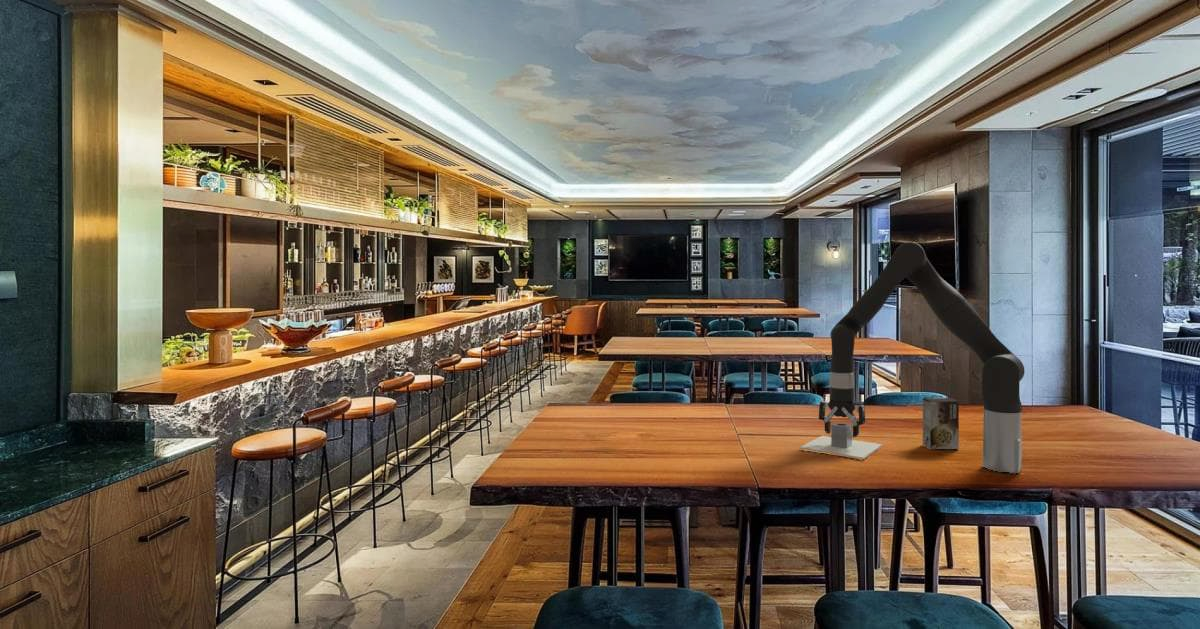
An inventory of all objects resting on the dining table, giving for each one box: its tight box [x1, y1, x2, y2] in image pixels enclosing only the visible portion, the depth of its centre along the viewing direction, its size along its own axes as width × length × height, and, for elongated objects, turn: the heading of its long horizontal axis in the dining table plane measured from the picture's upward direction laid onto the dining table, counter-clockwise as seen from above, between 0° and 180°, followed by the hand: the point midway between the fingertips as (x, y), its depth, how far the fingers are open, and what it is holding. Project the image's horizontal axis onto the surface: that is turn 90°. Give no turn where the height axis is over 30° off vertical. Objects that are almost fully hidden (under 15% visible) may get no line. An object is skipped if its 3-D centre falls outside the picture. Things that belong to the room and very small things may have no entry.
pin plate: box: [799, 435, 883, 460], centre depth 207 cm, size 20×20×6 cm
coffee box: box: [922, 397, 960, 450], centre depth 207 cm, size 9×6×16 cm
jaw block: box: [830, 422, 853, 449], centre depth 207 cm, size 5×5×7 cm
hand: (841, 434), depth 207 cm, fingers open, 8 cm apart
